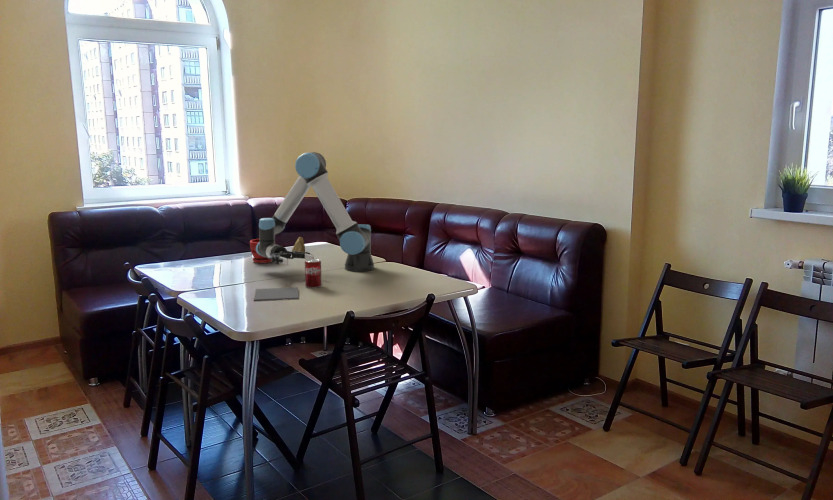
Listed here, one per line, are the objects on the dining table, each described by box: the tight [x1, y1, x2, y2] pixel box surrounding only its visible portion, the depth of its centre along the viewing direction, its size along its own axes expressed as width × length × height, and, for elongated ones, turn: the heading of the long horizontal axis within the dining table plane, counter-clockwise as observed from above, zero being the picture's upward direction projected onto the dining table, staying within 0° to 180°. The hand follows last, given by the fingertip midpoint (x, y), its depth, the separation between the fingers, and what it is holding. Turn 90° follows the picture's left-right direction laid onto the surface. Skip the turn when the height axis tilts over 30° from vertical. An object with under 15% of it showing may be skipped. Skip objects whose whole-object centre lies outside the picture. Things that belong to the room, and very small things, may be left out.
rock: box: [291, 236, 306, 252], centre depth 352 cm, size 11×9×10 cm
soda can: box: [304, 258, 322, 289], centre depth 276 cm, size 7×7×12 cm
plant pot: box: [249, 238, 272, 264], centre depth 330 cm, size 13×13×12 cm
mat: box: [253, 286, 300, 302], centre depth 262 cm, size 18×18×1 cm
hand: (300, 260), depth 282 cm, fingers open, 13 cm apart
